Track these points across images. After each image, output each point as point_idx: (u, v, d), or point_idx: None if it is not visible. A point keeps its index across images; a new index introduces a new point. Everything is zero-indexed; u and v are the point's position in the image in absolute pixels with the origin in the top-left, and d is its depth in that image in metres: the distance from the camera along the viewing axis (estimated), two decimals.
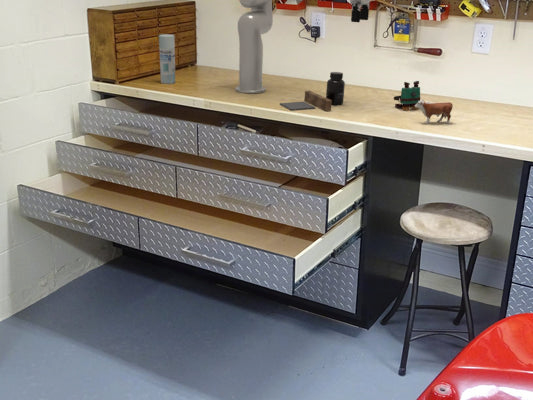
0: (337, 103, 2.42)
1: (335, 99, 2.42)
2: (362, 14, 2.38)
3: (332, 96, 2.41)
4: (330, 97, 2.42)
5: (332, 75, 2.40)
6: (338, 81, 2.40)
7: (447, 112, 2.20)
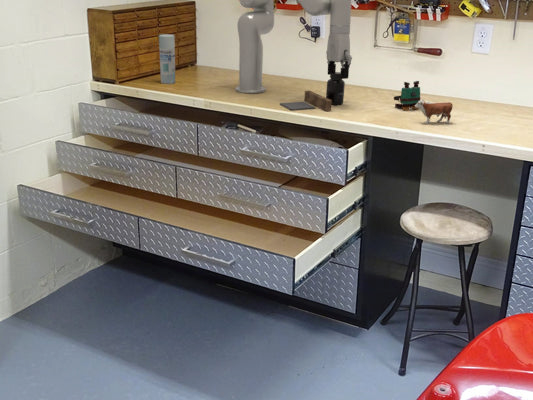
0: (337, 103, 2.42)
1: (335, 99, 2.42)
2: (331, 69, 2.44)
3: (332, 96, 2.41)
4: (330, 97, 2.42)
5: (332, 75, 2.40)
6: (338, 81, 2.40)
7: (447, 112, 2.20)
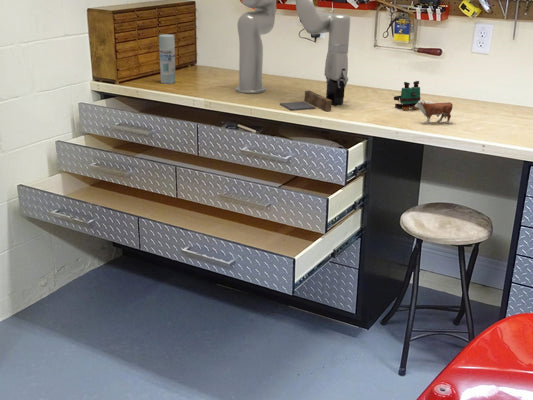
0: (337, 103, 2.42)
1: (336, 99, 2.42)
2: None
3: (332, 96, 2.41)
4: (330, 97, 2.42)
5: None
6: None
7: (447, 112, 2.20)
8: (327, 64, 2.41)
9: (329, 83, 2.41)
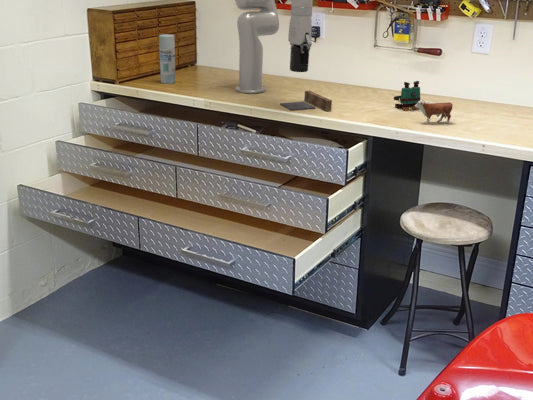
0: (301, 69, 2.31)
1: (299, 66, 2.31)
2: None
3: (296, 62, 2.30)
4: (294, 63, 2.31)
5: None
6: None
7: (447, 112, 2.20)
8: (290, 29, 2.30)
9: (292, 48, 2.30)
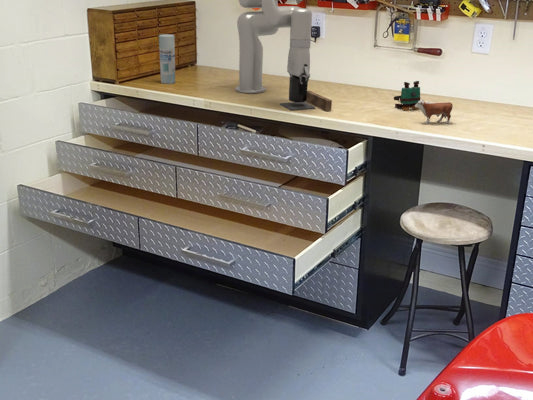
0: (300, 100, 2.35)
1: (298, 96, 2.35)
2: None
3: (295, 93, 2.34)
4: (293, 93, 2.35)
5: None
6: None
7: (447, 112, 2.20)
8: (289, 60, 2.34)
9: (291, 79, 2.34)
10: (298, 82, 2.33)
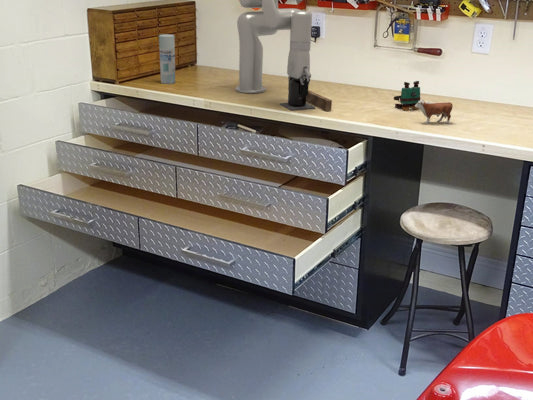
0: (299, 104, 2.36)
1: (297, 100, 2.36)
2: None
3: (294, 97, 2.35)
4: (292, 97, 2.36)
5: None
6: (300, 81, 2.34)
7: (447, 112, 2.20)
8: (289, 62, 2.35)
9: (291, 84, 2.35)
10: (297, 86, 2.34)
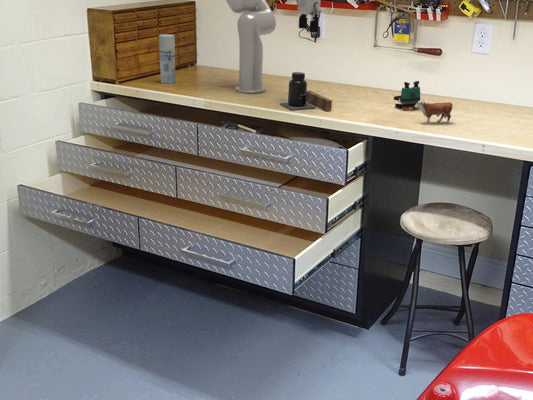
0: (299, 104, 2.36)
1: (297, 100, 2.36)
2: (302, 23, 2.41)
3: (294, 97, 2.35)
4: (292, 97, 2.36)
5: (294, 75, 2.34)
6: (300, 81, 2.34)
7: (447, 112, 2.20)
8: None
9: (291, 84, 2.35)
10: (297, 86, 2.34)
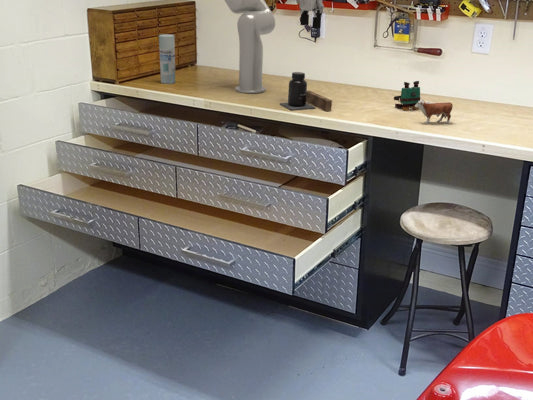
0: (299, 104, 2.36)
1: (297, 100, 2.36)
2: (303, 20, 2.42)
3: (294, 97, 2.35)
4: (292, 97, 2.36)
5: (294, 75, 2.34)
6: (300, 81, 2.34)
7: (447, 112, 2.20)
8: None
9: (291, 84, 2.35)
10: (297, 86, 2.34)
